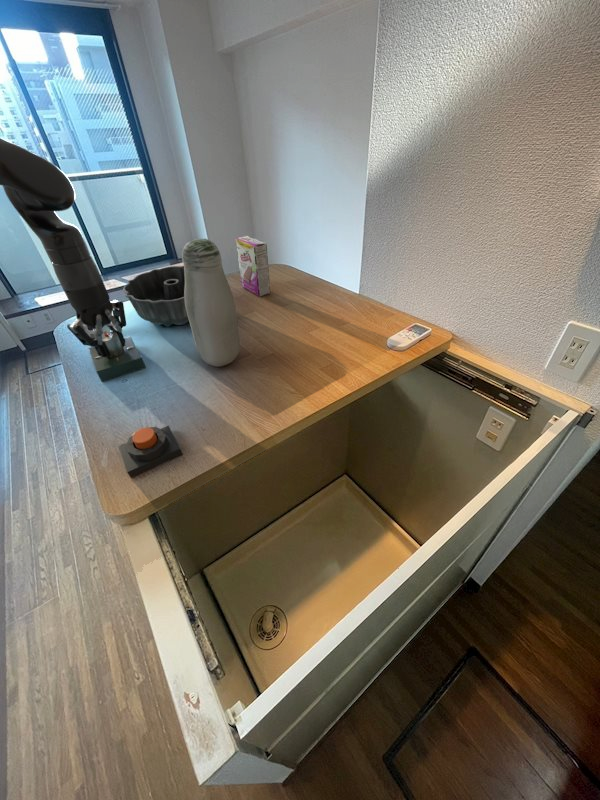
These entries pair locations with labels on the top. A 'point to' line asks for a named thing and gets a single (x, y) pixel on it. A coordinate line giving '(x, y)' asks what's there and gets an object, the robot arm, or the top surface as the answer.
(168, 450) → the button block
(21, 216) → the robot arm
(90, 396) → the top surface
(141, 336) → the top surface
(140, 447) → the button
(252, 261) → the candy bar box
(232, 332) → the off-white tall tapered cylinder
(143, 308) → the bundt pan
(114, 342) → the dial
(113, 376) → the panel
